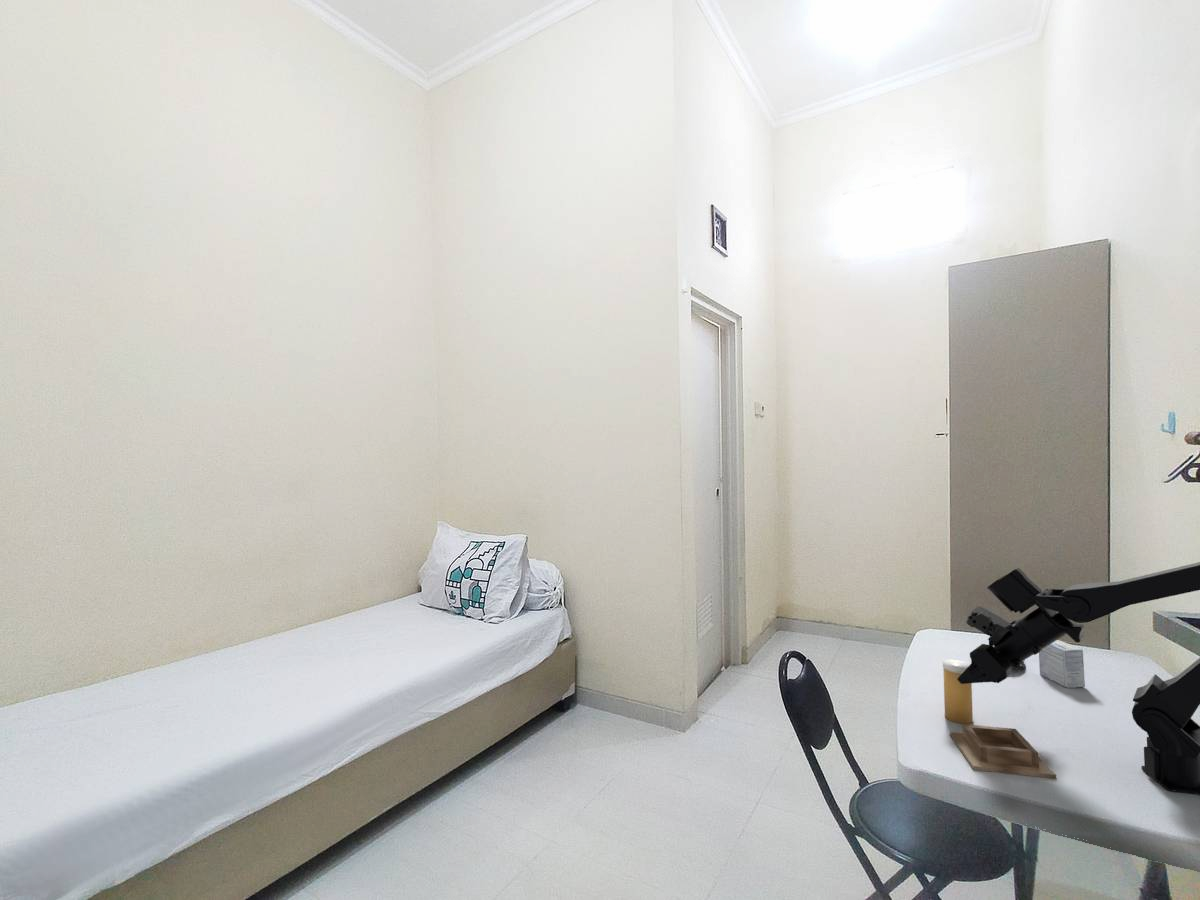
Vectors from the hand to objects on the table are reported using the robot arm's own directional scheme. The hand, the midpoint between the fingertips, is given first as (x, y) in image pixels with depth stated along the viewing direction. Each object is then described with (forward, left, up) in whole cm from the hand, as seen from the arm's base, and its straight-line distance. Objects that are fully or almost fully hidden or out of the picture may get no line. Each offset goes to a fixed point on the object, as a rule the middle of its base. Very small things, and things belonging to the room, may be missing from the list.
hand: (966, 674), depth 112 cm
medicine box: (-28, -26, -9) cm, 39 cm away
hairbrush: (-22, -40, -10) cm, 47 cm away
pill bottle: (+1, -1, -9) cm, 9 cm away
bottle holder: (-1, +13, -9) cm, 16 cm away
